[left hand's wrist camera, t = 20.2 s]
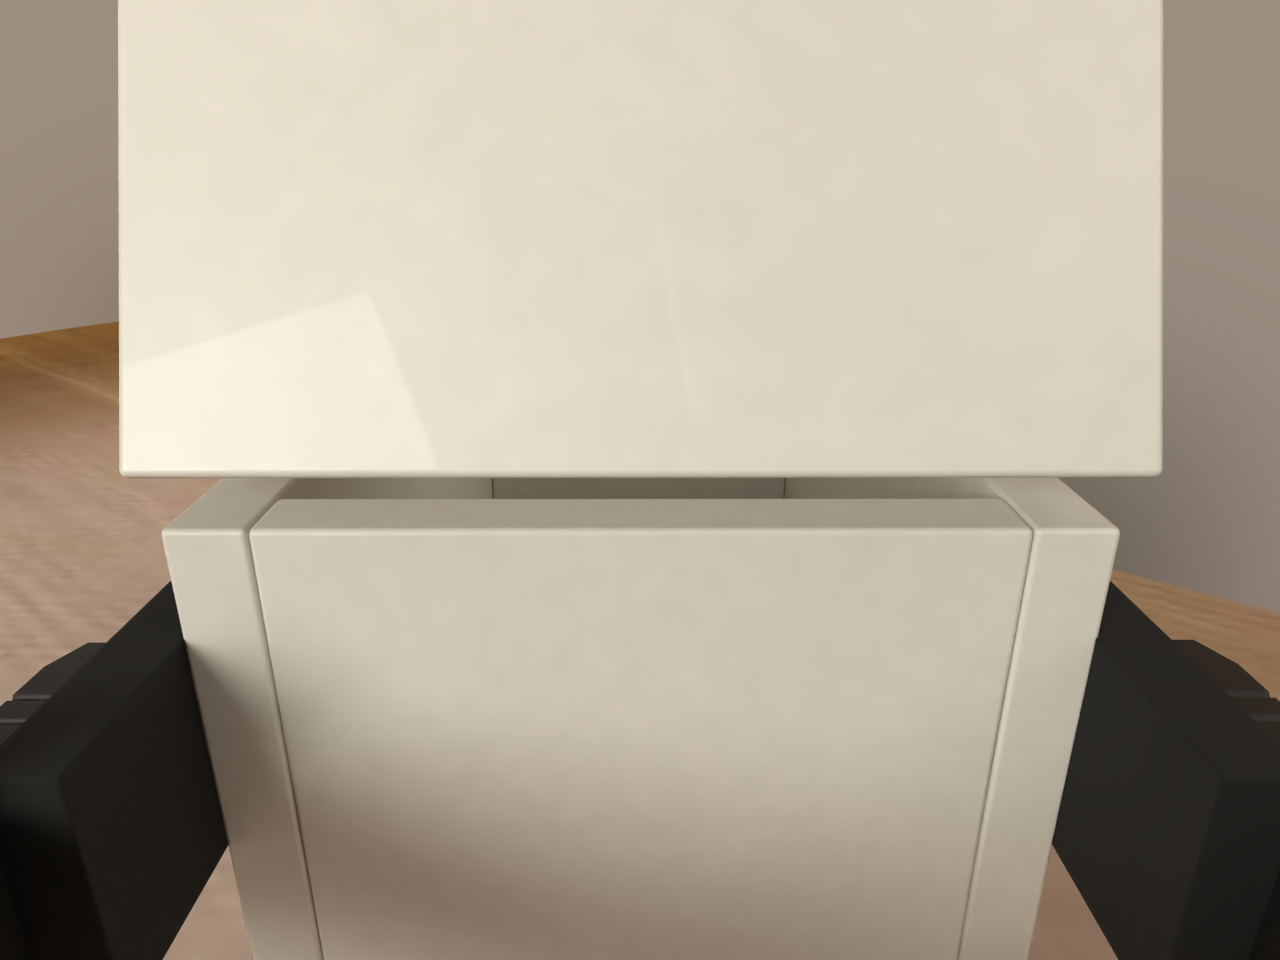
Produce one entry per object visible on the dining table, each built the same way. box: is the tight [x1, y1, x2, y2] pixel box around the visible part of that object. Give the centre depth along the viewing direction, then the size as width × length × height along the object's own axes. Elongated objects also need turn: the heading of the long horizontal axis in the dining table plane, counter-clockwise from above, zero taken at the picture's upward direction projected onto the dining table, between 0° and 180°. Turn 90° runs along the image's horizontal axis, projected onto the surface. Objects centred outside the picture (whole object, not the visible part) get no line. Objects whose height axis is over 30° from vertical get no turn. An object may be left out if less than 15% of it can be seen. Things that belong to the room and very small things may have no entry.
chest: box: [162, 478, 1120, 960], centre depth 17 cm, size 15×9×9 cm, turn 0°
